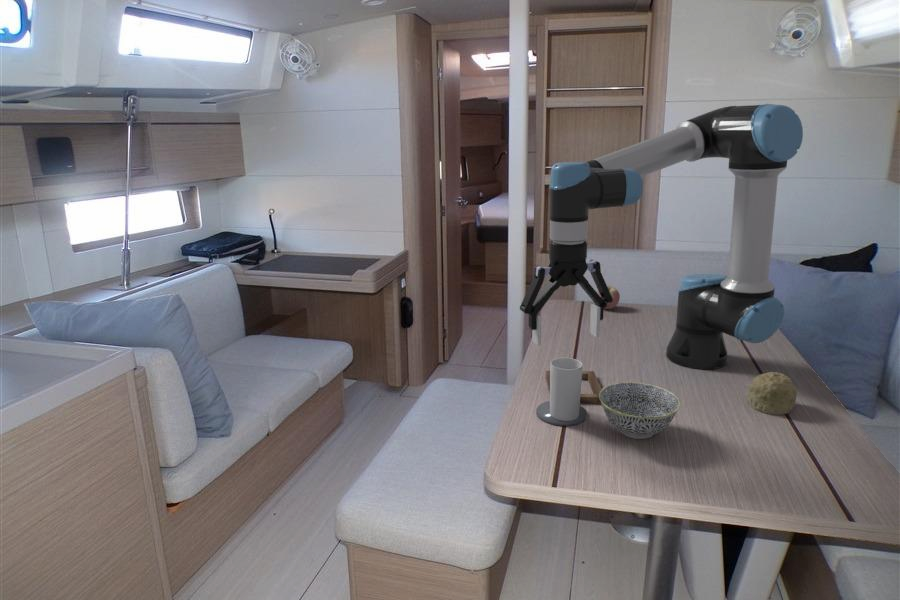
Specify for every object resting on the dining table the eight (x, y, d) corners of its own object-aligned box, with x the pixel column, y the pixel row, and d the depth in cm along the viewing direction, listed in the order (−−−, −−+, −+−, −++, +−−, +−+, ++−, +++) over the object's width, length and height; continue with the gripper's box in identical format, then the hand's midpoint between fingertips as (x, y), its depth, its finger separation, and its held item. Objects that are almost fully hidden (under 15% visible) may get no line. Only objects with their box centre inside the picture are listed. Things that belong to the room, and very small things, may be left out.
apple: (595, 311, 202) (596, 289, 200) (594, 305, 209) (595, 283, 207) (619, 312, 201) (621, 289, 199) (617, 306, 208) (619, 283, 206)
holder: (593, 376, 151) (593, 371, 151) (604, 403, 137) (605, 397, 136) (545, 376, 152) (545, 370, 151) (551, 402, 137) (552, 396, 137)
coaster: (582, 403, 137) (582, 400, 137) (590, 426, 126) (591, 423, 126) (534, 402, 138) (534, 400, 137) (538, 425, 127) (538, 423, 127)
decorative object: (760, 429, 131) (792, 403, 125) (730, 391, 137) (759, 365, 130) (783, 422, 136) (816, 397, 130) (753, 386, 142) (783, 360, 135)
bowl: (666, 459, 114) (670, 423, 112) (586, 437, 122) (587, 404, 120) (684, 424, 127) (688, 391, 124) (610, 407, 135) (612, 376, 133)
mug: (581, 422, 127) (584, 370, 123) (549, 421, 127) (551, 369, 124) (576, 401, 136) (579, 352, 133) (546, 400, 137) (548, 351, 134)
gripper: (612, 232, 128) (608, 326, 134) (503, 242, 121) (504, 341, 127) (632, 238, 121) (627, 336, 127) (518, 249, 114) (518, 353, 120)
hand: (566, 339), depth 127 cm, fingers open, 13 cm apart
